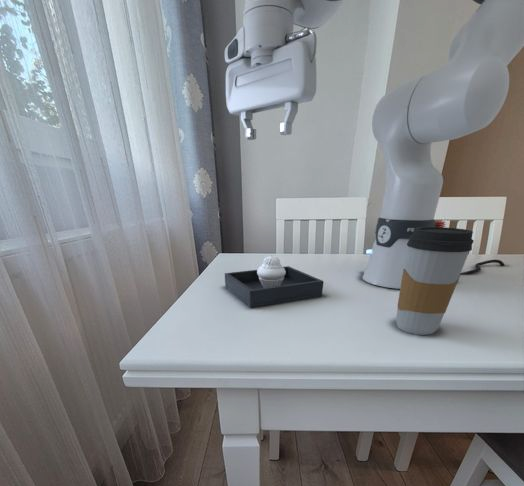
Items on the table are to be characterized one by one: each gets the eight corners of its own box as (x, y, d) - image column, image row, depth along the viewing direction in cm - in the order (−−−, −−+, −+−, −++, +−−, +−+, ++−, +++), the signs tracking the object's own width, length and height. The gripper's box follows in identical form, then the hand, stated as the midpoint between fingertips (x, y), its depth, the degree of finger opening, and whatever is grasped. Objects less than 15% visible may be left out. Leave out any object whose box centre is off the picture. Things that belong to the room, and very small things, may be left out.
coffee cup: (452, 340, 44) (489, 234, 37) (393, 335, 46) (418, 232, 38) (435, 319, 51) (463, 227, 44) (385, 315, 53) (404, 225, 46)
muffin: (285, 284, 67) (286, 252, 64) (285, 292, 62) (286, 258, 58) (258, 283, 67) (257, 252, 64) (255, 292, 62) (255, 258, 59)
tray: (287, 279, 74) (288, 266, 72) (322, 296, 62) (323, 280, 61) (225, 287, 68) (224, 273, 66) (250, 308, 56) (249, 291, 54)
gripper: (328, 30, 48) (319, 133, 55) (242, 62, 60) (244, 143, 67) (305, 15, 44) (299, 129, 51) (218, 52, 56) (223, 140, 63)
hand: (267, 137), depth 59 cm, fingers open, 8 cm apart
